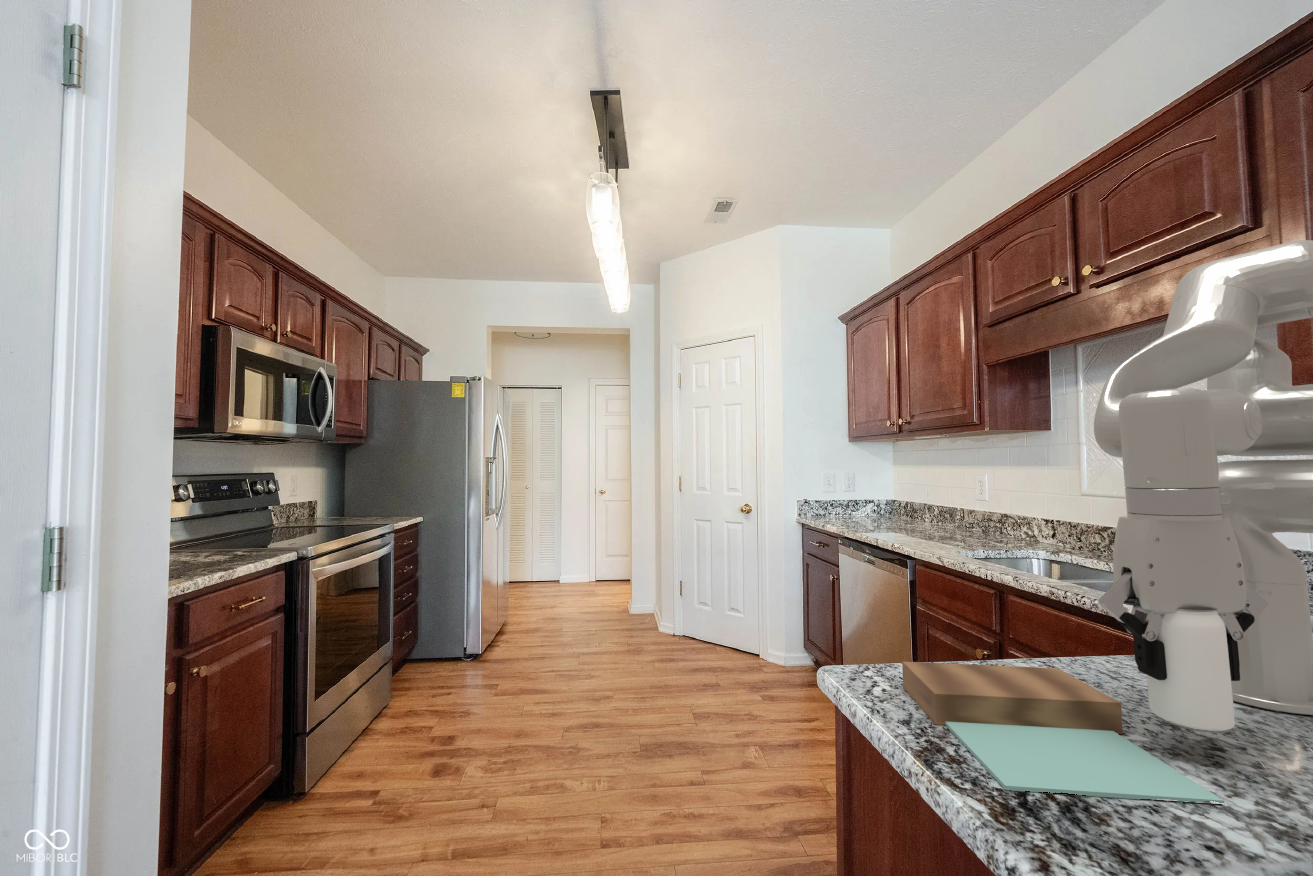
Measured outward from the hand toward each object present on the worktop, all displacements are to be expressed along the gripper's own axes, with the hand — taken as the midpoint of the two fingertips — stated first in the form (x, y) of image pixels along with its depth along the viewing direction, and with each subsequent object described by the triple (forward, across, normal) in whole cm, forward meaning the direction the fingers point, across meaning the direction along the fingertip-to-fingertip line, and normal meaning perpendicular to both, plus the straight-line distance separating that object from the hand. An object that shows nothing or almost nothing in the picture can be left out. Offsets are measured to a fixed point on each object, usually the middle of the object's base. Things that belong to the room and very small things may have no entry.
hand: (1187, 674), depth 58 cm
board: (+8, +14, -10) cm, 19 cm away
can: (+5, 0, 0) cm, 5 cm away
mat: (+8, +14, +3) cm, 16 cm away
